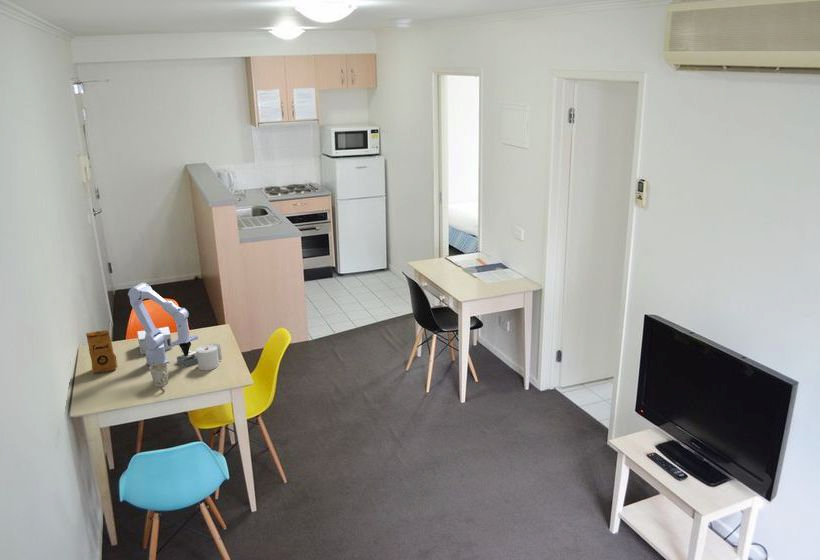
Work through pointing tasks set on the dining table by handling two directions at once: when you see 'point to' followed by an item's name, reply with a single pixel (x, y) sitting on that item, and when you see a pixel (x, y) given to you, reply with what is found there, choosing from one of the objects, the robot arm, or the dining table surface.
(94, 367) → the coffee package
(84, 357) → the dining table surface
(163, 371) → the mug
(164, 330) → the supplement box
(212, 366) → the toilet tissue
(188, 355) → the rocker
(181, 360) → the switch housing
